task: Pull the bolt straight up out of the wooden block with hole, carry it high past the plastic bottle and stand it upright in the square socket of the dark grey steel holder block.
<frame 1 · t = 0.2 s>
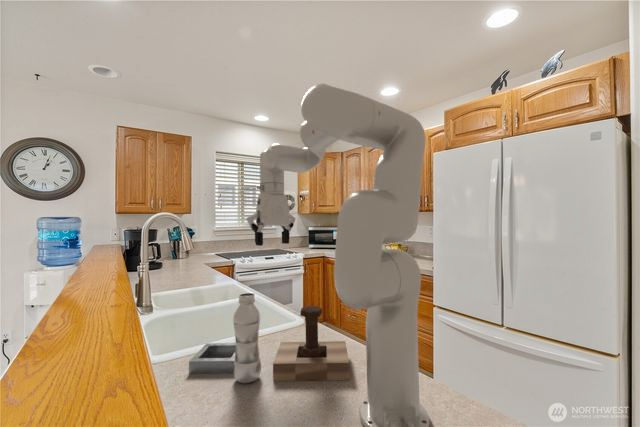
hand: (272, 244, 88), 31 cm above the countertop, tool pointing down, fingers open, 9 cm apart
bolt: (312, 368, 71), resting in wooden block with hole
plastic bottle: (247, 380, 66), on the countertop
wooden block with hole: (312, 367, 71), on the countertop
holder: (219, 362, 75), on the countertop
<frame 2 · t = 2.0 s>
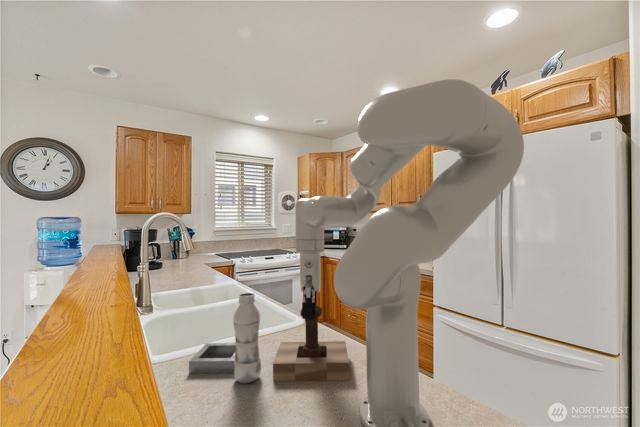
hand: (309, 311, 72), 14 cm above the countertop, tool pointing down, fingers open, 9 cm apart
nothing on the countertop moved.
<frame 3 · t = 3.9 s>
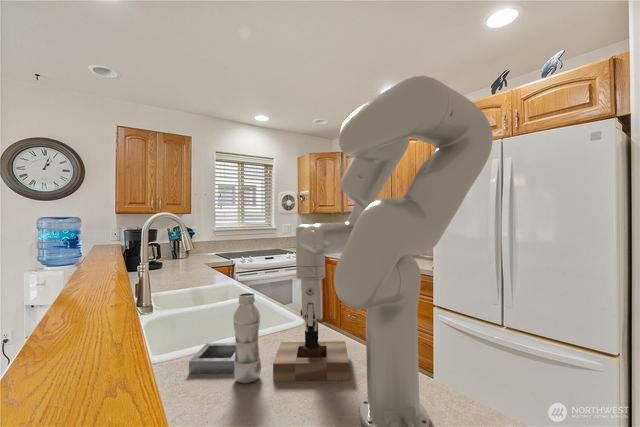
hand: (311, 342, 72), 6 cm above the countertop, tool pointing down, fingers closed on bolt, 3 cm apart
bolt: (312, 368, 71), resting in wooden block with hole, touching gripper
everything else where it was.
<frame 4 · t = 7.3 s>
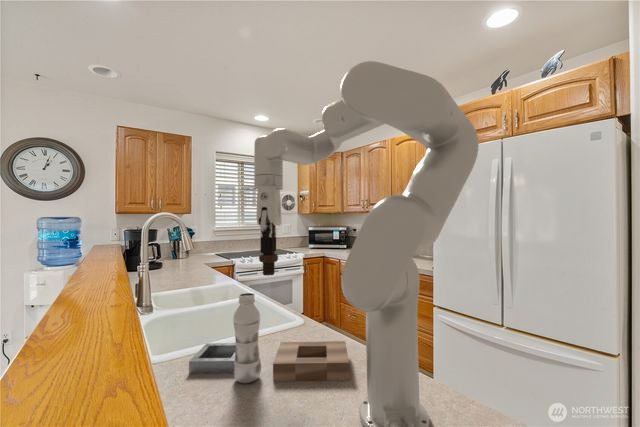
hand: (268, 251, 74), 30 cm above the countertop, tool pointing down, fingers closed on bolt, 3 cm apart
bolt: (268, 275, 74), point 23 cm above the countertop, touching gripper
everything else where it was.
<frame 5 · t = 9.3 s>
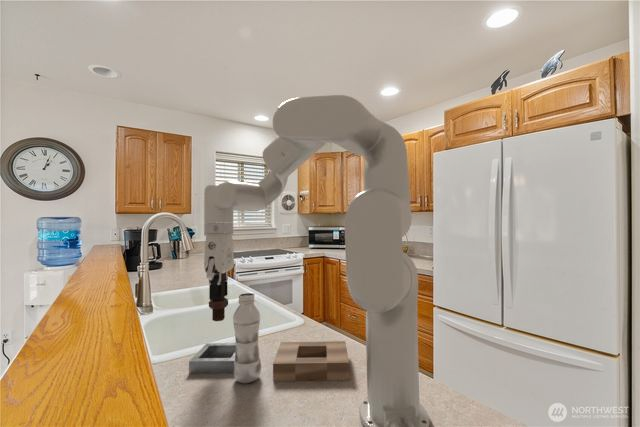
hand: (218, 297, 76), 17 cm above the countertop, tool pointing down, fingers closed on bolt, 3 cm apart
bolt: (218, 320, 75), point 11 cm above the countertop, touching gripper
everything else where it was.
when the fingers open (8 cm above the countertop, at t = 11.0 s): bolt stays where it is, resting in holder.
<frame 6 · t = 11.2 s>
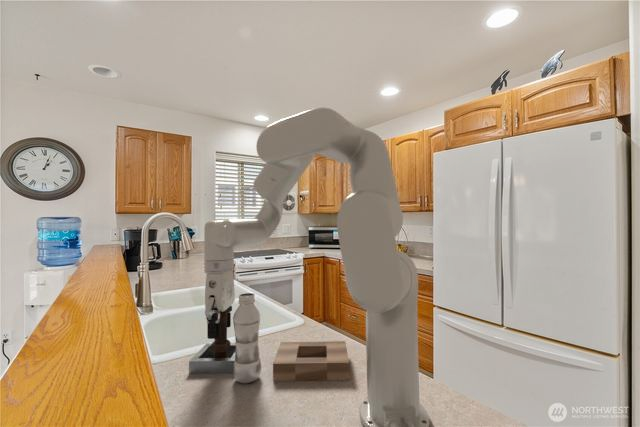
hand: (219, 331, 75), 8 cm above the countertop, tool pointing down, fingers open, 7 cm apart
bolt: (220, 363, 75), resting in holder
everything else where it was.
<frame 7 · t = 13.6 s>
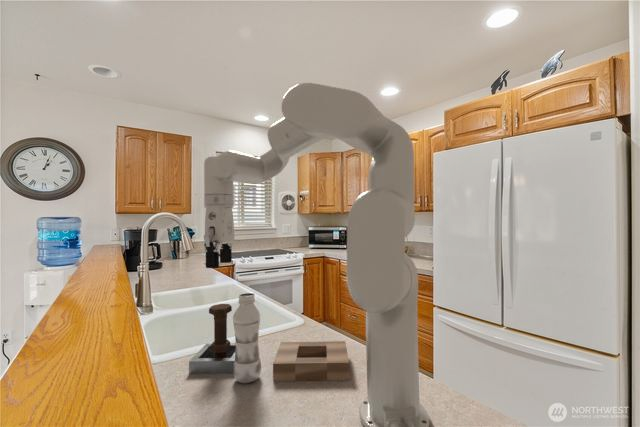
hand: (219, 265, 76), 26 cm above the countertop, tool pointing down, fingers open, 9 cm apart
nothing on the countertop moved.
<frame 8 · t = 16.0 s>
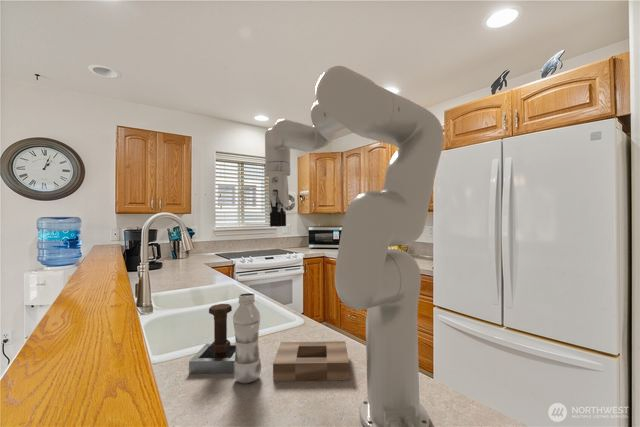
hand: (278, 226, 84), 36 cm above the countertop, tool pointing down, fingers open, 9 cm apart
nothing on the countertop moved.
at the end: bolt 0.2 cm off-centre on the holder, point 0.0 cm above the holder's base; bolt tilted 0°; the gripper is holding nothing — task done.
